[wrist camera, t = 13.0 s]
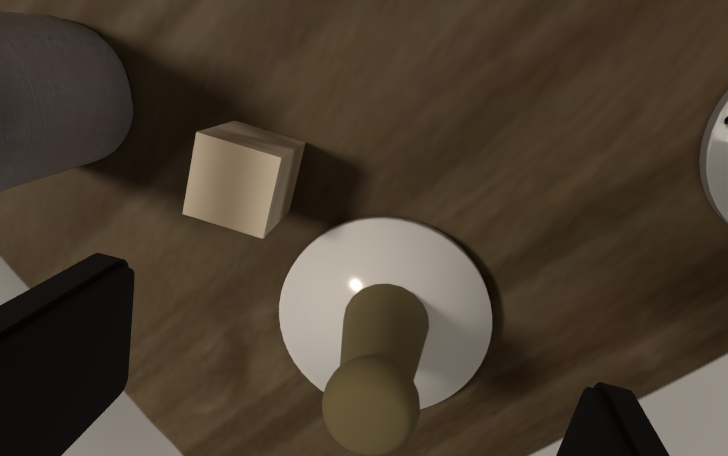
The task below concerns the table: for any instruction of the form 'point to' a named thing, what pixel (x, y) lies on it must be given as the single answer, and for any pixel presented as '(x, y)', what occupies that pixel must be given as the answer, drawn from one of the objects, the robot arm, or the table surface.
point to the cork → (377, 371)
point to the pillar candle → (57, 97)
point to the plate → (398, 267)
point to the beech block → (242, 177)
